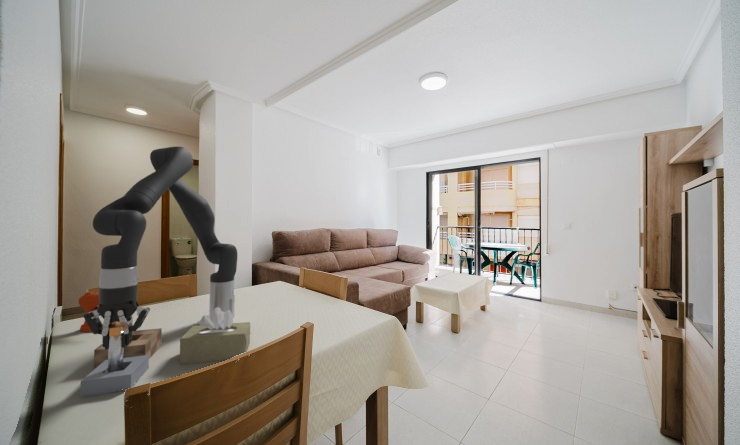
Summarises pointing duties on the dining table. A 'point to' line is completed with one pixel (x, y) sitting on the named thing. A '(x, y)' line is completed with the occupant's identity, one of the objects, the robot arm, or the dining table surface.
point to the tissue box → (214, 338)
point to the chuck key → (115, 348)
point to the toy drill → (88, 307)
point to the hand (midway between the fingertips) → (117, 346)
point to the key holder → (114, 376)
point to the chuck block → (134, 346)
